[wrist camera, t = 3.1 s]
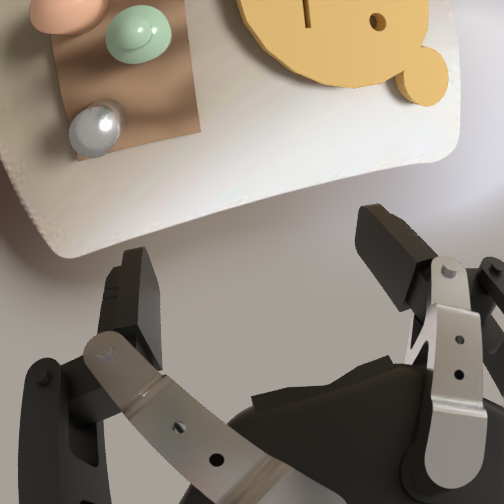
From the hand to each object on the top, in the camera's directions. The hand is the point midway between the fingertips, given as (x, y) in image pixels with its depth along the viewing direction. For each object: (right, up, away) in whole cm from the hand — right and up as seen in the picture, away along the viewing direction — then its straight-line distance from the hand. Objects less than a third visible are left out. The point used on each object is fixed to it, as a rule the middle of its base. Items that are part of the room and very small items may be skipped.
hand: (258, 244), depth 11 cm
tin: (-17, +14, +19) cm, 29 cm away
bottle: (-11, +22, +15) cm, 28 cm away
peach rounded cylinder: (-18, +25, +10) cm, 33 cm away
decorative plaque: (+12, +32, +16) cm, 38 cm away
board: (-15, +22, +16) cm, 30 cm away
